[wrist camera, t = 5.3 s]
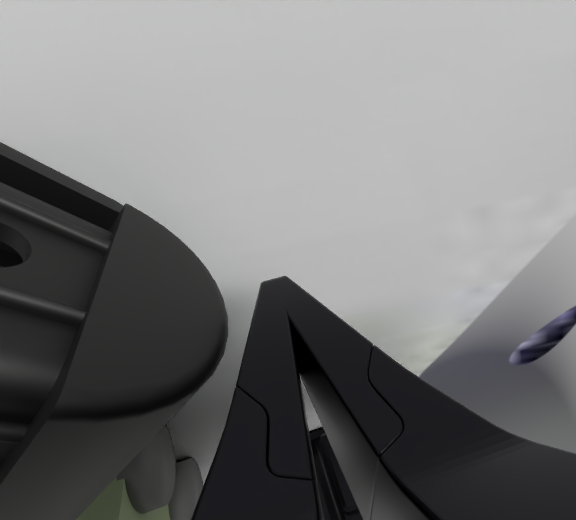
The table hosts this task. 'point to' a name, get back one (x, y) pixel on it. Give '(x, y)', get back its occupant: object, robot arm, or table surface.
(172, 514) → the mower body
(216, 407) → the table surface
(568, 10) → the table surface
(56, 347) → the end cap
